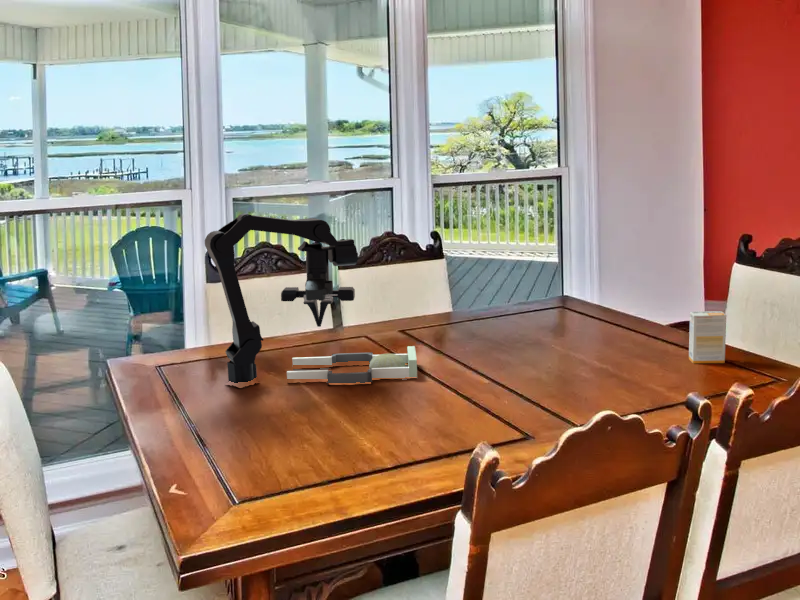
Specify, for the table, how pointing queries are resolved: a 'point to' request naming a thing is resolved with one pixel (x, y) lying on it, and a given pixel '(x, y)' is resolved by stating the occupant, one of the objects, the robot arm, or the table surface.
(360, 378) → the trap lane
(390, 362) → the sea urchin shell
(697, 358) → the supplement box
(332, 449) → the table surface
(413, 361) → the end block
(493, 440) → the table surface
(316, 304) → the robot arm
